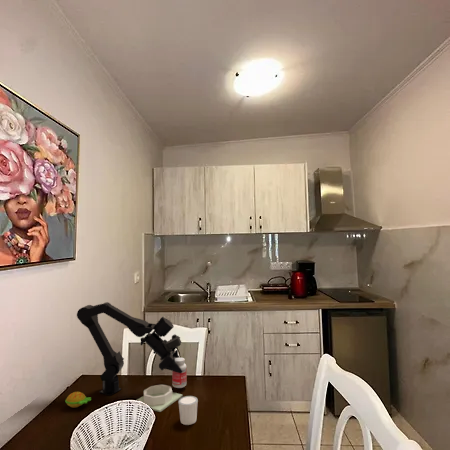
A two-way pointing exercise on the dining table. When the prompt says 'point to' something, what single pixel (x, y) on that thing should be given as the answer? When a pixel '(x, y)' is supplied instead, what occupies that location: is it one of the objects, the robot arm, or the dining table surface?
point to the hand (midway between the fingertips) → (182, 369)
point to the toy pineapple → (76, 399)
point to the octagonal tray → (159, 397)
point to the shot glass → (188, 409)
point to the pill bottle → (180, 374)
